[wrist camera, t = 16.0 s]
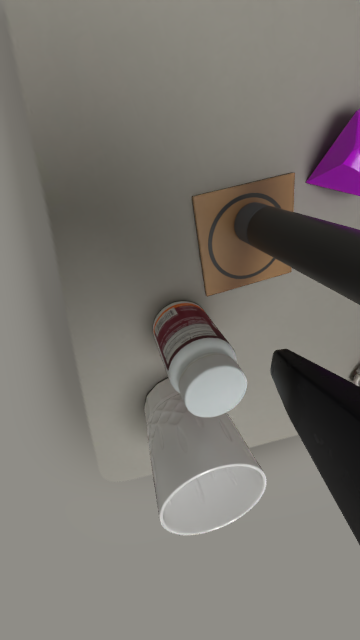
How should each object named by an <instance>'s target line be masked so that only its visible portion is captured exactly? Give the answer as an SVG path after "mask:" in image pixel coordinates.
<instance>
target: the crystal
mask: <svg viewBox="0 0 360 640" xmlns="http://www.w3.org/2000/svg"><path fill="white" fill-rule="evenodd" d="M306 183H309V184H313V185H317V186H321V187H325V188H329V189H333V190H337V191H341V192H345V193H350V194H354V195H358V196H360V109H359V110H357V111H356V112H355V114H354V115H353V117H352V118H351V119H350V121H349V122H348V124H347V125H346V126H345V128H344V129H343V131H342V132H341V134H340V135H339V136H338V138H337V139H336V141H335V142H334V143H333V145H332V146H331V148H330V149H329V150H328V152H327V153H326V155H325V156H324V157H323V159H322V160H321V162H320V163H319V164H318V166H317V167H316V169H315V170H314V172H313V173H312V174H311V176H310V177H309V179H308V180H307V181H306Z"/></svg>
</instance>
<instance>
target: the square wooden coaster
mask: <svg viewBox="0 0 360 640" xmlns="http://www.w3.org/2000/svg"><path fill="white" fill-rule="evenodd" d="M294 179H295V173H288V174H284V175H280V176H276V177H271V178H267V179H263V180H259V181H255V182H250V183H246V184H242V185H238V186H234V187H229V188H225V189H221V190H217V191H212V192H208V193H204V194H200V195H196V196H192V201H193V208H194V215H195V222H196V229H197V236H198V243H199V250H200V257H201V264H202V271H203V278H204V285H205V292H206V296H210V295H214V294H217V293H221V292H224V291H228V290H231V289H234V288H238V287H241V286H245V285H248V284H252V283H255V282H258V281H262V280H265V279H269V278H272V277H276V276H279V275H283V274H286V273H289V272H291V267H290V266H288V265H286V264H284V263H282V262H281V261H279V260H277V259H275V258H273V257H271V256H270V255H268V254H266V253H264V252H262V251H260V250H259V249H257V248H255V247H253V246H251V245H249V244H248V243H246V242H244V241H242V240H240V239H239V238H238V236H237V235H236V233H235V228H234V223H235V219H236V216H237V214H238V212H239V211H240V210H241V209H242V208H243V207H244V206H245V205H247V204H249V203H253V202H257V203H261V204H265V205H269V206H272V207H276V208H280V209H284V210H287V211H291V212H293V207H294Z"/></svg>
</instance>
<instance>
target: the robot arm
mask: <svg viewBox="0 0 360 640" xmlns="http://www.w3.org/2000/svg"><path fill="white" fill-rule="evenodd" d="M271 375H272V378H273V380H274V383H275V385H276V388H277V390H278V392H279V395H280V397H281V400H282V402H283V404H284V407H285V409H286V411H287V414H288V416H289V418H290V420H291V422H292V423H293V425H294V427H295V429H296V431H297V432H298V434H299V436H300V437H301V439H302V441H303V443H304V445H305V447H306V449H307V450H308V452H309V454H310V456H311V458H312V459H313V461H314V463H315V465H316V467H317V469H318V470H319V472H320V474H321V476H322V478H323V479H324V481H325V483H326V485H327V486H328V488H329V490H330V492H331V494H332V496H333V498H334V499H335V501H336V503H337V505H338V507H339V508H340V510H341V512H342V514H343V516H344V517H345V519H346V521H347V523H348V525H349V526H350V528H351V530H352V532H353V534H354V535H355V537H356V539H357V541H358V543H359V545H360V387H359V386H357V385H355V384H353V383H351V382H349V381H348V380H346V379H344V378H342V377H340V376H338V375H336V374H334V373H332V372H330V371H328V370H326V369H325V368H323V367H321V366H319V365H317V364H315V363H313V362H311V361H309V360H307V359H305V358H303V357H301V356H300V355H298V354H296V353H294V352H292V351H290V350H288V349H281V350H276V351H274V353H273V358H272V364H271Z"/></svg>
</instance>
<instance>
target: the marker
mask: <svg viewBox="0 0 360 640" xmlns="http://www.w3.org/2000/svg"><path fill="white" fill-rule="evenodd" d="M234 228H235V233H236V235H237V236H238V238H239V239H240V240H242V241H244V242H246V243H248V244H249V245H251V246H253V247H255V248H257V249H259V250H260V251H262V252H264V253H266V254H268V255H270V256H271V257H273V258H275V259H277V260H279V261H281V262H282V263H284V264H286V265H288V266H290V267H292V268H293V269H295V270H297V271H299V272H301V273H303V274H304V275H306V276H308V277H310V278H312V279H314V280H315V281H317V282H319V283H321V284H323V285H325V286H326V287H328V288H330V289H332V290H334V291H336V292H337V293H339V294H341V295H343V296H345V297H347V298H348V299H350V300H352V301H354V302H356V303H358V304H359V305H360V230H358V229H354V228H351V227H347V226H343V225H339V224H336V223H332V222H328V221H325V220H321V219H317V218H313V217H310V216H306V215H302V214H298V213H295V212H291V211H287V210H284V209H280V208H276V207H272V206H269V205H265V204H261V203H257V202H253V203H249V204H247V205H245V206H244V207H243V208H242V209H241V210H240V211H239V212H238V214H237V216H236V219H235V223H234Z"/></svg>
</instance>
